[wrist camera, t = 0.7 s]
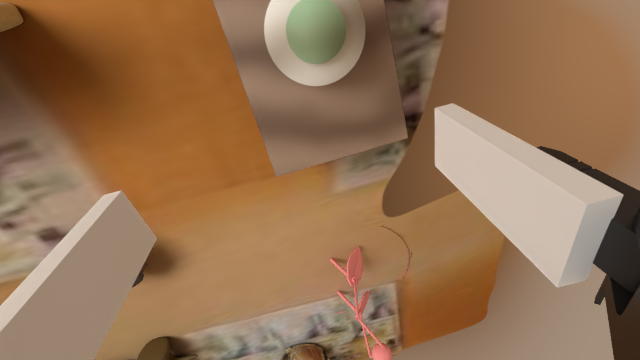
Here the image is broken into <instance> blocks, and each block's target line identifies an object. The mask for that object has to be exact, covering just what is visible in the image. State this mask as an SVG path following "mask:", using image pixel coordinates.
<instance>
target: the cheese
mask: <svg viewBox="0 0 640 360" xmlns="http://www.w3.org/2000/svg"><path fill="white" fill-rule="evenodd" d="M22 23H23V18H22V16H21V14H20V12H19V11H18V9H17V8H16V6H14V5H13V4H10V3H5V2H0V32H2V31H5V30H8V29H11V28H14V27H16V26H18V25H20V24H22Z"/></svg>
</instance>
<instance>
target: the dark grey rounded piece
mask: <svg viewBox="0 0 640 360" xmlns="http://www.w3.org/2000/svg"><path fill="white" fill-rule="evenodd" d="M196 357H197V355H196V354H194V355H188V356H184V357H175V356H173V355H172V354H171V353H170V342H169V339H168V338H166V337H159V338H156V339H153V340H151V341H150V342H149V343H147V344H146V345H145V347H144V348H143V349H142V350H141V352H140V354H139V356H138V358H137V360H191V359H194V358H196Z"/></svg>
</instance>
